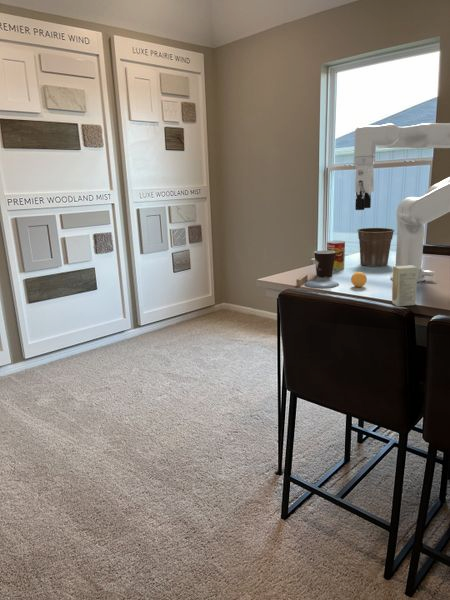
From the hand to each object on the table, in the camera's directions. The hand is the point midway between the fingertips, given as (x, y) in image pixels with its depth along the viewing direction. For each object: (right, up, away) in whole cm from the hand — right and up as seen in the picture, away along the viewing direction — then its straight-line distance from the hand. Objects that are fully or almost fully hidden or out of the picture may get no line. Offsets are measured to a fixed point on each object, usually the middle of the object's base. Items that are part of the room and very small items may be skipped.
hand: (363, 208), depth 171 cm
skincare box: (+4, -36, -27) cm, 45 cm away
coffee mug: (-10, -24, +21) cm, 33 cm away
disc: (-15, -29, +4) cm, 32 cm away
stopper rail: (-22, -28, +7) cm, 36 cm away
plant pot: (+17, -18, +39) cm, 46 cm away
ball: (-3, -27, -3) cm, 27 cm away
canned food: (-2, -20, +34) cm, 40 cm away
